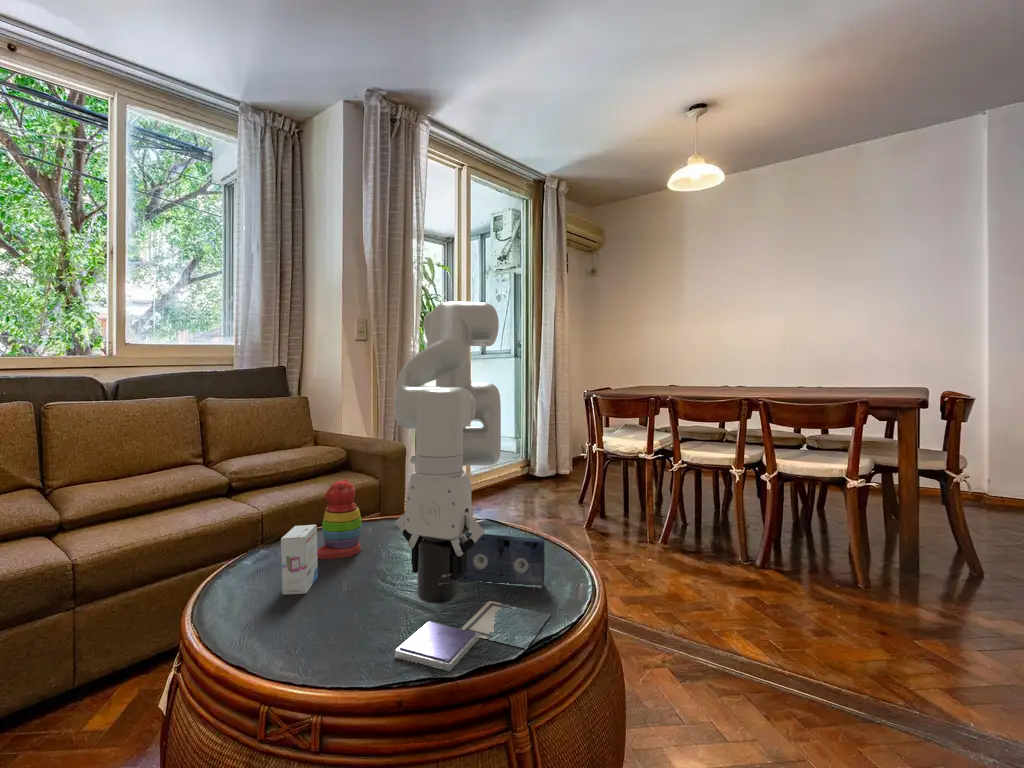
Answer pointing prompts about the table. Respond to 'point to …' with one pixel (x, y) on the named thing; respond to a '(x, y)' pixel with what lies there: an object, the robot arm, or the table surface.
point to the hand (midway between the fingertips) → (438, 572)
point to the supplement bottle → (436, 571)
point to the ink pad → (437, 645)
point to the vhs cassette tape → (506, 560)
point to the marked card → (484, 620)
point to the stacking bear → (340, 522)
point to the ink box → (299, 559)
